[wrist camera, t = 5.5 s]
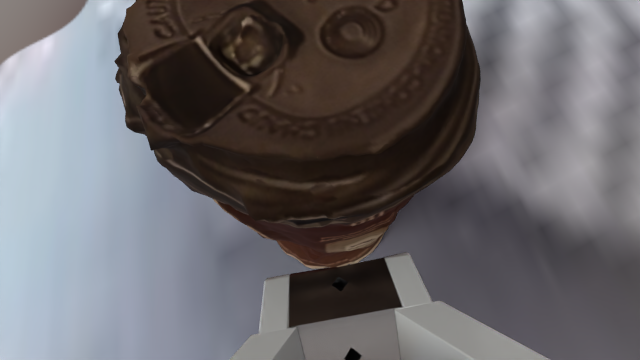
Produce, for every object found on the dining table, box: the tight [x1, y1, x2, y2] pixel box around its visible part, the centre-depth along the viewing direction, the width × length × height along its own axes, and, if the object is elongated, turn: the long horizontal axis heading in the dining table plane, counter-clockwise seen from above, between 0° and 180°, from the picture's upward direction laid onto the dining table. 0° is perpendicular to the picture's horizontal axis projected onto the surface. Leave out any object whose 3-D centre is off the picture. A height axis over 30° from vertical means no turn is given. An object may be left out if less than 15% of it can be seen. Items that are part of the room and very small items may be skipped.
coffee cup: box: [115, 0, 480, 269], centre depth 14 cm, size 9×8×13 cm
